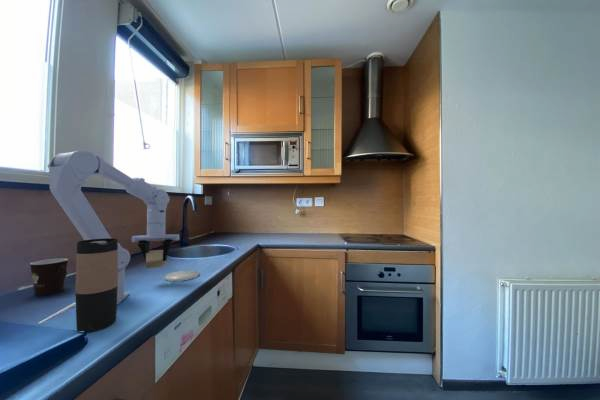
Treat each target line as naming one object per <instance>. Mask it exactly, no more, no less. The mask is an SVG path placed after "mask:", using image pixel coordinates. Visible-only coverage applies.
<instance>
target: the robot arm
mask: <svg viewBox="0 0 600 400" xmlns="http://www.w3.org/2000/svg"><path fill="white" fill-rule="evenodd" d="M47 167H48V169H49V190H50V192H51V194H52V196H53V197H54V198H55V200H56V201H57V202H58V204H59V206H60V207H61V208H62V210H63V211H64V213H65V214H66V215H67V217H68V219H69V220H70V222H71V223H72V224H73V226H74V227H75V229H76V230H77V232H78V233H79V234H80V236H81V237H82V239H83V240H91V239H104V238H112V237H111V236H110V234H109V232H108V231H107V229H106V228H105V226H104V225H103V223H102V222H101V219H100V218H99V217H98V215H97V213H96V212H95V210H94V208H93V207H92V206H91V204H90V202H89V201H88V199H87V197H86V196H85V194H84V193H83V191H82V187H83V186H84V185H85V181H87V179H89V178H90V177H91V176H101V177H103V178H105V179H107V180H108V181H111V182H113V183H115V184H117V185H120V186H122V187H124V188H125V191H126V193H127V194H130V195H131V196H134V197H136V198H138V199H139V200H142V201H143V203H144V204H145V205H146V235H145V234H144V235H133V236H131V243H137V242H138V243H137V246H138V247H139V249H140V251H141V253H142V256H143V258H144V259H143V260H144V263H146V253H148V252H149V251H150V243H151V242H159V241H160V242H161V241H162V250H163V261H165V262H166V261H167V259H168V254H169V251H170V249H171V247H172V244H173V242H174V241H179V240H180V234H179V233H178V234H175V233H173V234H171V233H170V234H167V233H166V215H167V213H166V211H167V207H168V205H169V202H170V200H171V198H170V196H169V194H168V193H167V191H165V190H164V189H158V188H157V186H155V185H151V184H150V183H148V182H146V180H145V178H143V177H133V178H132V177H130V176H129V175H127V174H126V173H124V172H123V171H122V170H120V169H118V168H116V167H115V166H113V165H111V164H109V163H108V162H107V161H106V160H104V159H103V157H101V156H99V155H95V154H94V153H92V152H90V151H88V150H83V149H80V150H79V149H78V150H75V151H69V152H60V153H59V152H58V153H57V154H55V155H54V156H53V157H52V158H51V160H50V161H49V163H48V165H47ZM130 261H131V254H130V251H129V250H128V249H126V248H124V247H122V245H121V244H120V243H119V242H118V290H117V306H118V305H119V304H120V303H121V302H122V301H123V300H124V299H126V297H128V296H129V295H130V291H126V292H125V283H126V282H125V280H126V279H125V278H126V276H125V270H126V267H127V266H128V264H129V263H130Z"/></svg>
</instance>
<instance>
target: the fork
mask: <svg viewBox="0 0 600 400" xmlns="http://www.w3.org/2000/svg"><path fill="white" fill-rule="evenodd" d="M75 307H76V301H75V302H73V303H70V305H68V306H65V307H64V308H62V309H60V310H58V311H57V312H55V313H53V314H51V315H50V316H47V317H46V318H45V319H43V320H41V321H39V322H38V324H41V323H44V322H47V321H48V320H50V319H53V318H54V317H56V316H58V315H60V314H62V313H65V312H66V311H68V310H70V309H72V308H75Z"/></svg>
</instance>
